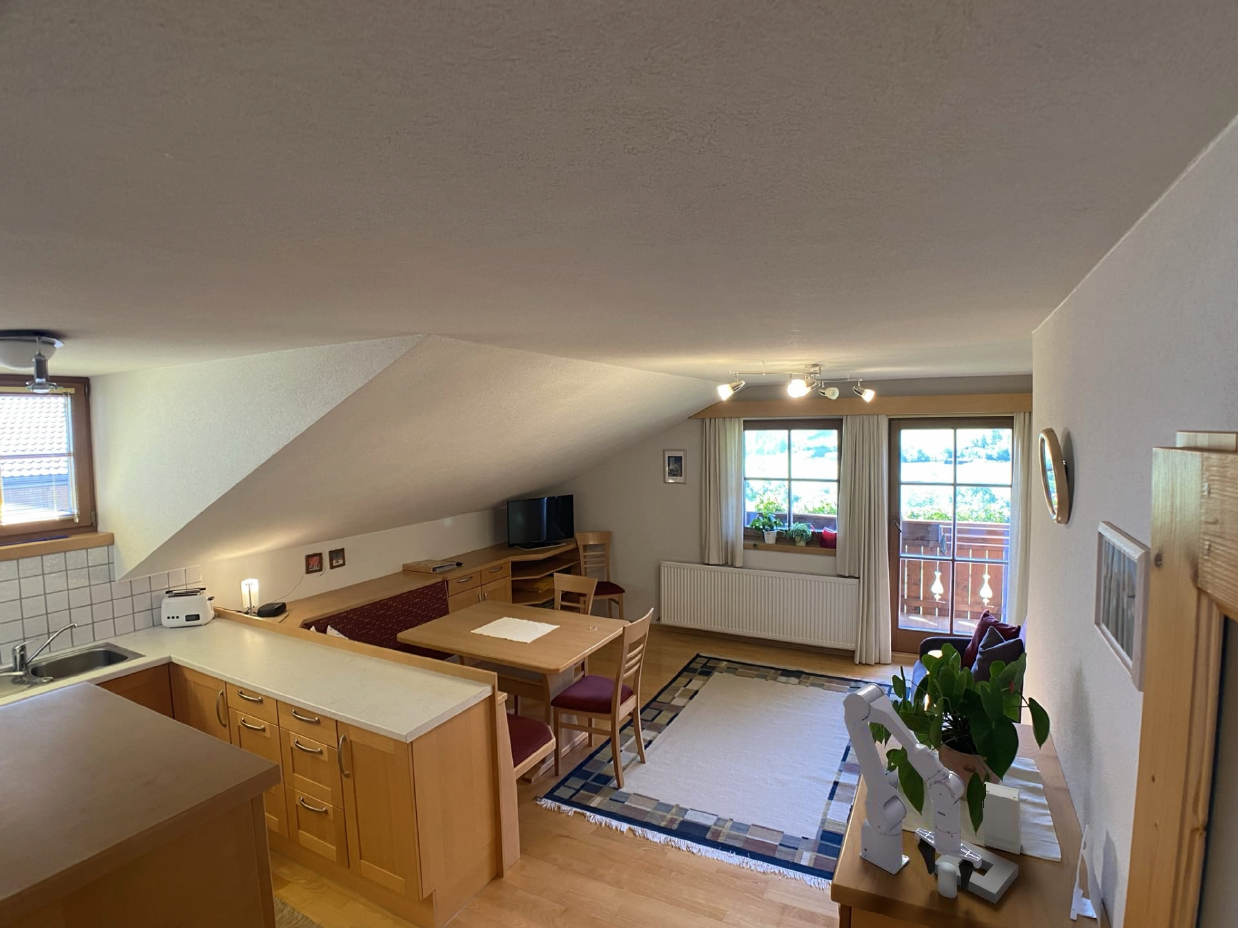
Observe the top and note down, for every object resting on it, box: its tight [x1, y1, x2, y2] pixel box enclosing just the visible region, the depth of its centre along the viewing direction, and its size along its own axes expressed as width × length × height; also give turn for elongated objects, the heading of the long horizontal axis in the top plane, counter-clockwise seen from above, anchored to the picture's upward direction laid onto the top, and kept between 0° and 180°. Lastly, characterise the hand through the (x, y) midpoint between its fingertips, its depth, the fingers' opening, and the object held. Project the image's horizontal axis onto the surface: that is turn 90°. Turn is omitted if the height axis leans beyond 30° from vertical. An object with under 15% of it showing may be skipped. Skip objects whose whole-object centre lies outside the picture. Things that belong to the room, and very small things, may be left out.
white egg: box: [937, 862, 958, 899], centre depth 154 cm, size 4×4×6 cm
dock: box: [933, 838, 1019, 905], centre depth 160 cm, size 14×14×2 cm
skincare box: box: [982, 781, 1022, 855], centre depth 169 cm, size 8×6×15 cm
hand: (947, 880), depth 154 cm, fingers open, 7 cm apart
